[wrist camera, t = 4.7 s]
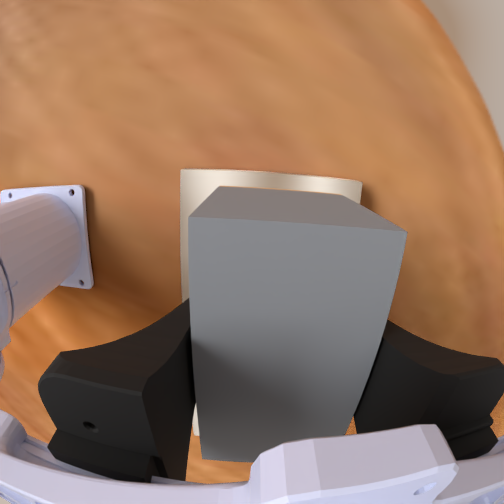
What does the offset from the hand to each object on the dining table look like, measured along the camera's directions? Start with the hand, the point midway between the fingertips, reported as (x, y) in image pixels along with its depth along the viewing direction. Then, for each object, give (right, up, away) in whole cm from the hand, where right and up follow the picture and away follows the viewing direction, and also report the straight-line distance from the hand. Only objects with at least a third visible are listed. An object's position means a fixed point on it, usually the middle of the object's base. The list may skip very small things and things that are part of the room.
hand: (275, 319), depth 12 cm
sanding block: (0, +1, +2) cm, 2 cm away
